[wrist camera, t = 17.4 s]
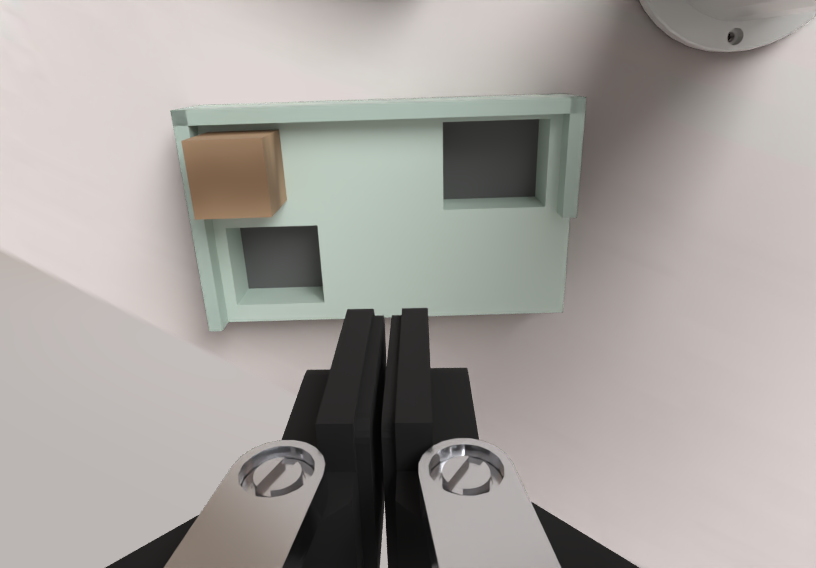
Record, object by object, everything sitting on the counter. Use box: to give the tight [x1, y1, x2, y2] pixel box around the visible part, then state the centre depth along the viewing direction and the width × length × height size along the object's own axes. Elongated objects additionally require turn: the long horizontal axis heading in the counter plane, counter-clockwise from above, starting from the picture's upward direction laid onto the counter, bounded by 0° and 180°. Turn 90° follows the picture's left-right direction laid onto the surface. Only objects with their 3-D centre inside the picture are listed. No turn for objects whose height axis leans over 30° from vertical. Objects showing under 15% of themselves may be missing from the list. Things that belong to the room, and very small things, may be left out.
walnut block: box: [181, 129, 287, 220], centre depth 30 cm, size 4×4×4 cm
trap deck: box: [171, 94, 586, 331], centre depth 34 cm, size 13×22×4 cm, turn 92°
